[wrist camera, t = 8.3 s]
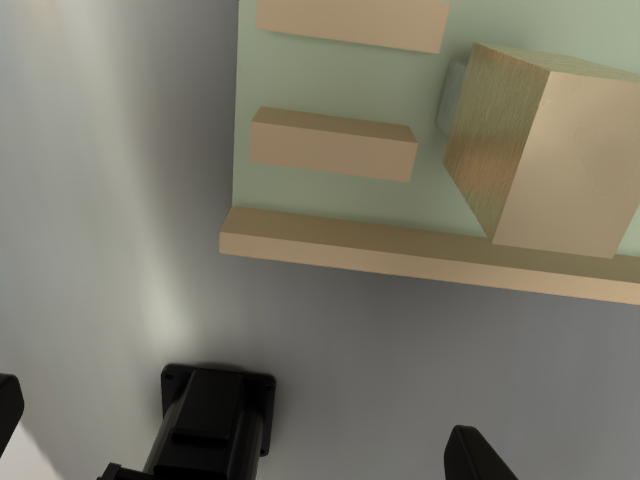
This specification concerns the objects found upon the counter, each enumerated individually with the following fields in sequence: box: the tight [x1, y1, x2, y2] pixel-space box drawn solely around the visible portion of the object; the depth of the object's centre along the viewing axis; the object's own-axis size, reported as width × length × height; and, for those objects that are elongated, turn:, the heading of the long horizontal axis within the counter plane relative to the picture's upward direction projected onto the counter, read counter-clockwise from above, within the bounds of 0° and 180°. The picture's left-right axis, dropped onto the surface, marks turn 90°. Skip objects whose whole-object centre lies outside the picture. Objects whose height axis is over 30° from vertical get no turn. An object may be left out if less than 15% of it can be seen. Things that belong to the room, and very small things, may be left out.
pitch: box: [219, 0, 640, 305], centre depth 17 cm, size 14×27×4 cm, turn 83°
